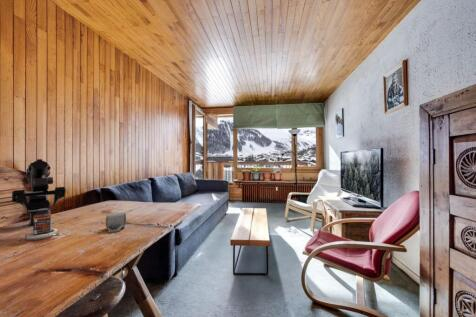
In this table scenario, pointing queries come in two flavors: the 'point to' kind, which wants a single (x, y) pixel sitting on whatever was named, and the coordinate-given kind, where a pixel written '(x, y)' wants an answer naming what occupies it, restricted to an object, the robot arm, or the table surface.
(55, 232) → the ring seat
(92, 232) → the table surface
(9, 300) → the table surface
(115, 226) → the ceramic mug
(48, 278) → the table surface
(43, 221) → the supplement bottle
